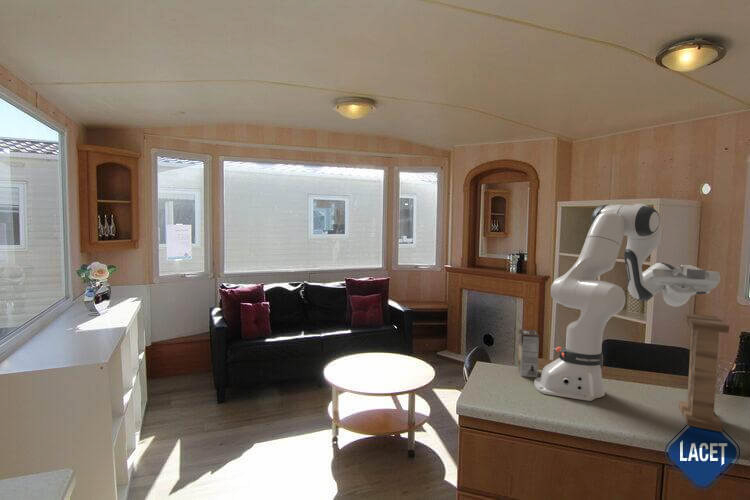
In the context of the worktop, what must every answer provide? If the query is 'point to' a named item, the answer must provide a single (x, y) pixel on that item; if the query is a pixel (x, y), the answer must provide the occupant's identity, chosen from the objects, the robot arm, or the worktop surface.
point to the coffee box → (528, 353)
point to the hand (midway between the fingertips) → (688, 268)
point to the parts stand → (702, 372)
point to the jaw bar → (693, 272)
